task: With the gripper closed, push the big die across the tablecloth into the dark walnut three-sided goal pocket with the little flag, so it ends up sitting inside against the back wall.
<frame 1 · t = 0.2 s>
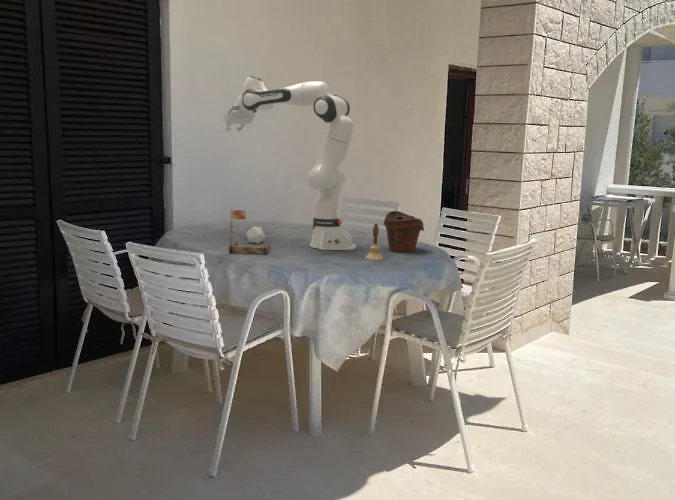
hand: (233, 130, 343), 54 cm above the table, tool tilted 30°, fingers open, 8 cm apart
die: (255, 243, 330), on the table
brown lidded bucket: (402, 250, 326), on the table
hand bell: (374, 259, 302), on the table
goal pocket: (250, 250, 311), on the table
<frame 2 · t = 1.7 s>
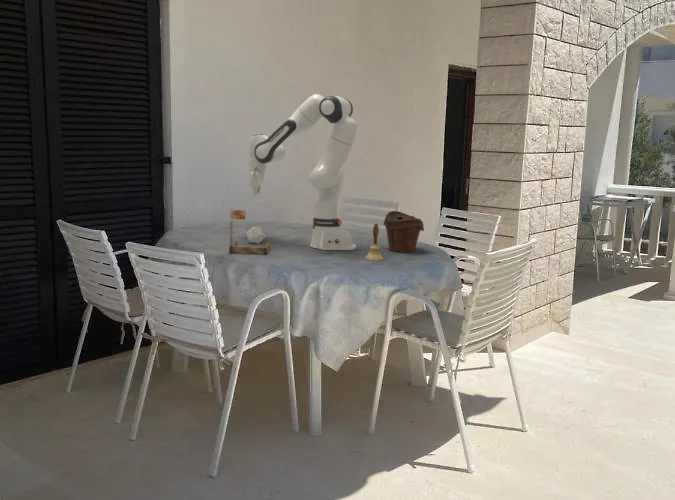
hand: (256, 194, 337), 23 cm above the table, tool pointing down, fingers open, 8 cm apart
nothing on the table moved.
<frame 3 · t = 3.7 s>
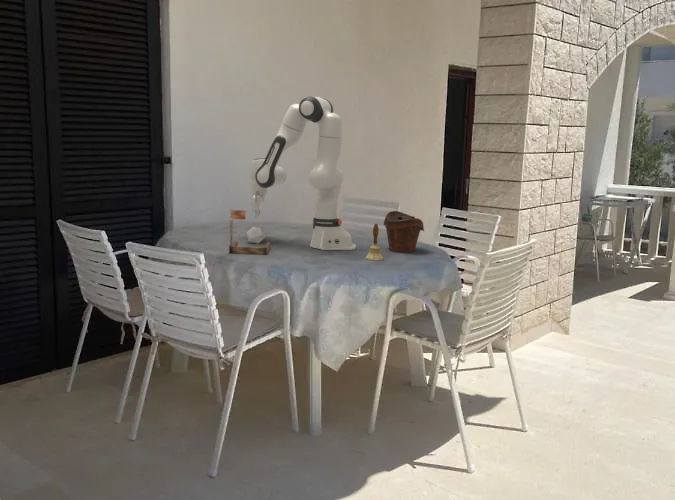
hand: (257, 217, 339), 11 cm above the table, tool pointing down, fingers closed
nothing on the table moved.
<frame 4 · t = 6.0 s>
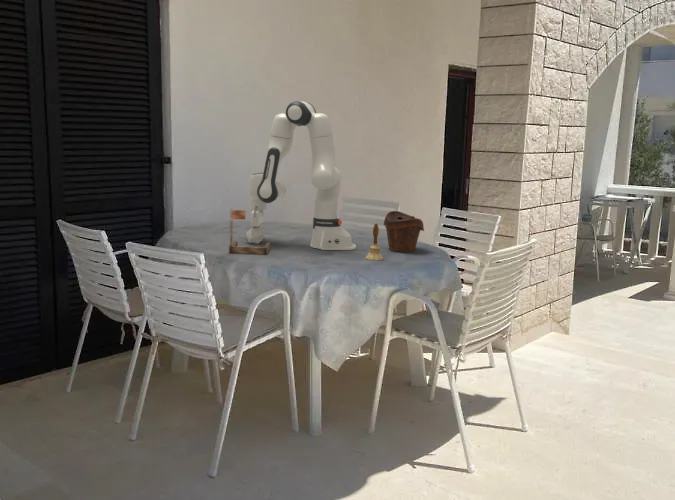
hand: (256, 233, 334), 4 cm above the table, tool pointing down, fingers closed
die: (255, 243, 330), on the table, touching gripper
everything else where it was.
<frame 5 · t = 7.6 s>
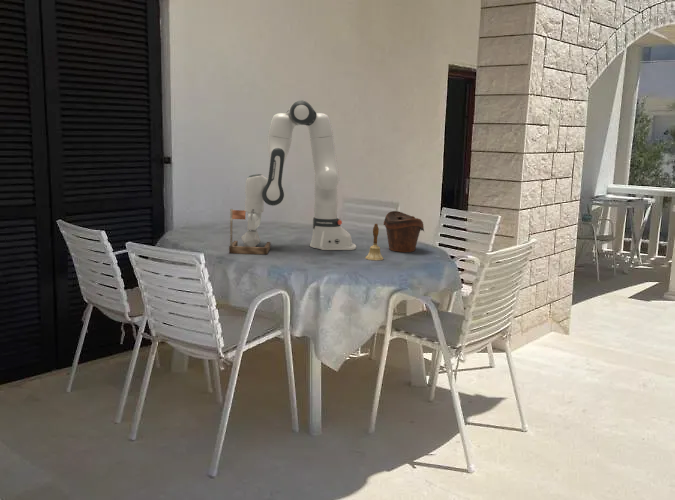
hand: (253, 236, 323), 4 cm above the table, tool pointing down, fingers closed
die: (250, 247, 319), on the table, touching gripper
everything else where it was.
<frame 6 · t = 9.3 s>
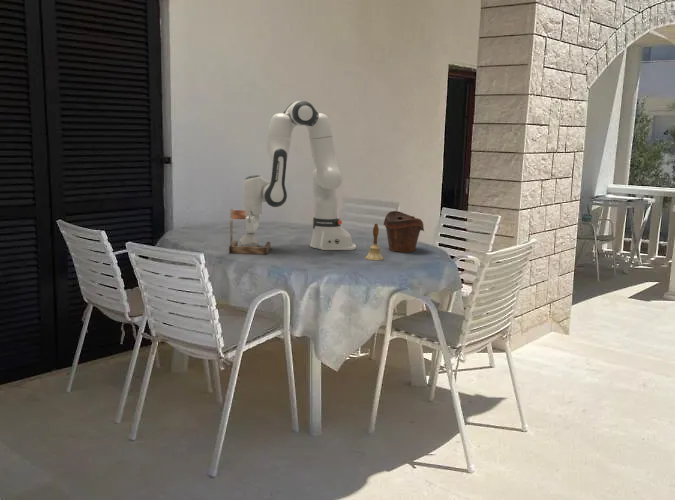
hand: (252, 239, 316), 4 cm above the table, tool pointing down, fingers closed
die: (249, 250, 311), on the table, touching gripper
everything else where it was.
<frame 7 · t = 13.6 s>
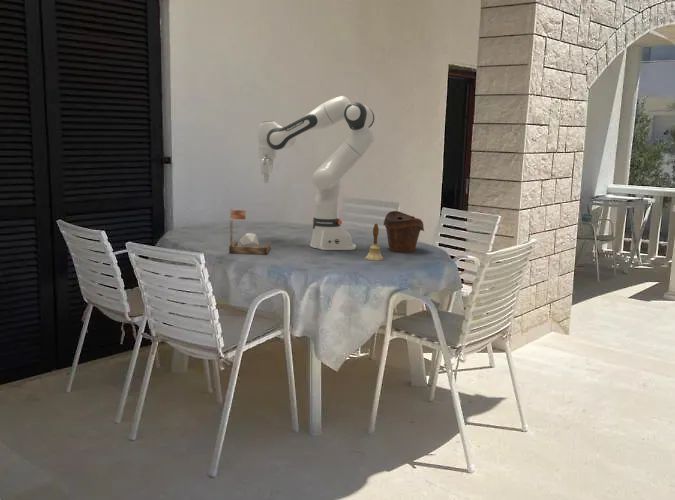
hand: (266, 182, 333), 29 cm above the table, tool pointing down, fingers closed
die: (249, 250, 311), on the table
everything else where it was.
at the end: die inside the target area on the goal pocket (0.6 cm from its centre), point 0.0 cm above the goal pocket's base; die tilted 0° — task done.
